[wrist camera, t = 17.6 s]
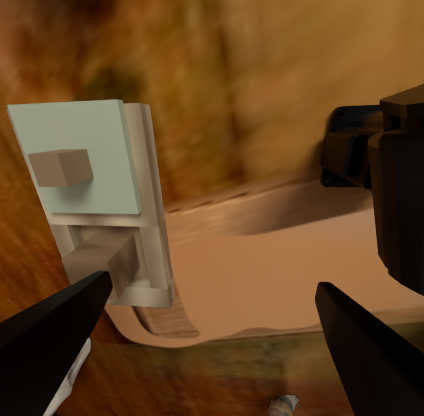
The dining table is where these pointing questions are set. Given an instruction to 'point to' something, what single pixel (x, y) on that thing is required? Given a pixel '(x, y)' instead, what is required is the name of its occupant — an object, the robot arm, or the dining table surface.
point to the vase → (283, 406)
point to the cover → (79, 155)
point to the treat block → (104, 260)
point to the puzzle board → (128, 220)
